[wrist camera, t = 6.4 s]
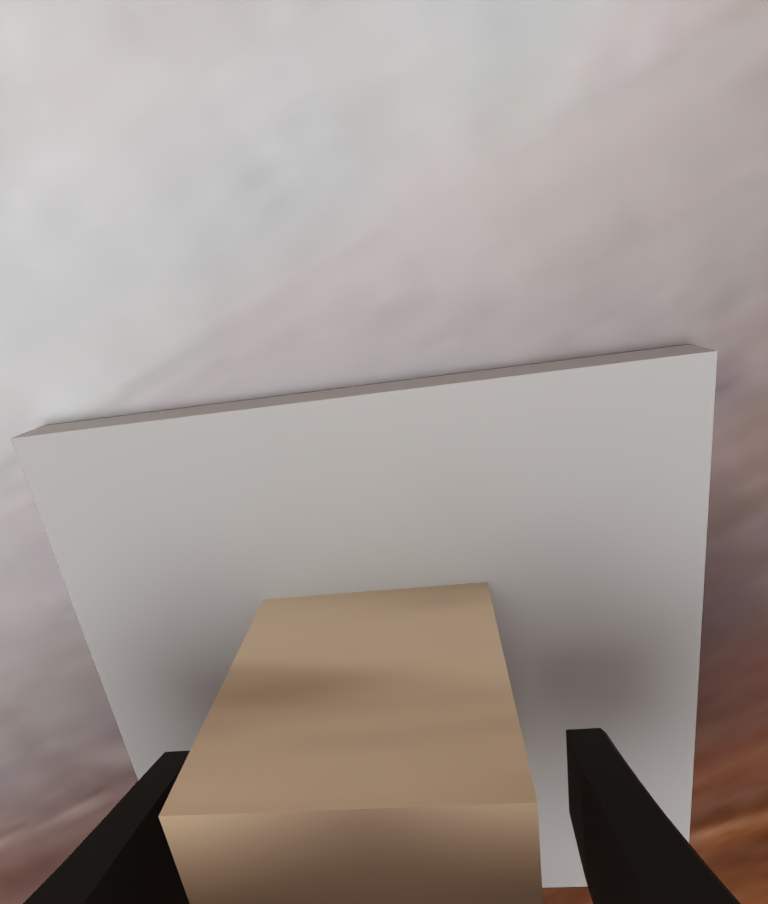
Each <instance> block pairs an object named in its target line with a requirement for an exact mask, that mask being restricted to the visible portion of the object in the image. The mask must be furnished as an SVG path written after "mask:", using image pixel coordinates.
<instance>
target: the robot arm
mask: <svg viewBox="0 0 768 904" xmlns="http://www.w3.org/2000/svg"><path fill="white" fill-rule="evenodd" d="M566 746H567V771H568V797H569V813H570V817H571V822H572V826H573V830H574V834H575V839H576V843H577V847H578V851H579V855H580V859H581V863H582V867H583V871H584V875H585V879H586V882H587V885H588V888H589V891H590V894H591V898H592V901H593V904H740V903H739V901H738V900H737V899H736V898H735V897H734V896H733V895H732V893H731V892H730V891H729V890H728V889H727V888H726V887H725V886H724V884H723V883H722V882H721V881H720V880H719V879H718V877H717V876H716V875H715V874H714V873H713V872H712V870H711V869H710V868H709V867H708V866H707V865H706V863H705V862H704V861H703V860H702V859H701V857H700V856H699V855H698V854H697V853H696V851H695V850H694V849H693V848H692V846H691V845H690V844H689V843H688V841H687V840H686V839H685V838H684V837H683V835H682V834H681V833H680V832H679V830H678V829H677V828H676V827H675V826H674V824H673V823H672V822H671V821H670V819H669V818H668V817H667V816H666V814H665V813H664V812H663V810H662V809H661V808H660V807H659V805H658V804H657V803H656V802H655V800H654V799H653V798H652V796H651V795H650V794H649V792H648V791H647V790H646V788H645V787H644V786H643V784H642V783H641V782H640V780H639V779H638V778H637V776H636V775H635V773H634V772H633V771H632V769H631V768H630V767H629V765H628V764H627V762H626V761H625V760H624V758H623V757H622V755H621V754H620V752H619V751H618V750H617V748H616V747H615V745H614V744H613V742H612V741H611V739H610V738H609V736H608V735H607V733H606V732H605V731H603V730H602V729H601V728H587V729H569V730H566ZM189 752H190V751H172V752H164V754H163V755H162V756H161V757H160V758H159V759H158V760H157V761H156V762H155V763H154V764H153V765H152V766H151V767H150V768H149V770H148V771H147V772H146V773H145V774H144V775H143V776H142V777H141V778H140V779H139V781H138V782H137V783H136V784H135V785H134V786H133V787H132V788H131V789H130V791H129V792H128V793H127V794H126V795H125V796H124V797H123V798H122V799H121V801H120V802H119V803H118V804H117V805H116V806H115V807H114V808H113V809H112V810H111V812H110V813H109V814H108V815H107V816H106V817H105V818H104V819H103V820H102V821H101V823H100V824H99V825H98V826H97V827H96V828H95V829H94V830H93V831H92V832H91V833H90V834H89V835H88V837H87V838H86V839H85V840H84V841H83V842H82V843H81V844H80V845H79V846H78V847H77V848H76V850H75V851H74V852H73V853H72V854H71V855H70V856H69V857H68V858H67V859H66V860H65V861H64V862H63V863H62V865H61V866H60V867H59V868H58V869H57V870H56V871H55V872H54V873H53V874H52V875H51V876H50V877H49V878H48V879H47V880H46V881H45V882H44V883H43V884H42V885H41V886H40V887H39V888H38V889H37V890H36V891H35V892H34V893H33V894H32V895H31V896H30V897H29V898H28V899H27V900H26V901H25V902H24V903H23V904H190V903H189V900H188V898H187V895H186V892H185V889H184V886H183V884H182V881H181V878H180V875H179V872H178V870H177V867H176V864H175V861H174V859H173V856H172V853H171V850H170V847H169V845H168V842H167V839H166V836H165V833H164V831H163V828H162V825H161V822H160V820H159V817H158V816H159V814H160V812H161V810H162V808H163V806H164V804H165V802H166V800H167V798H168V796H169V794H170V791H171V789H172V787H173V785H174V783H175V781H176V779H177V777H178V775H179V773H180V771H181V769H182V767H183V765H184V762H185V760H186V758H187V756H188V754H189Z"/></svg>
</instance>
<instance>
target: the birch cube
mask: <svg viewBox="0 0 768 904" xmlns="http://www.w3.org/2000/svg"><path fill="white" fill-rule="evenodd" d="M158 817H159V820H160V822H161V825H162V828H163V831H164V833H165V836H166V839H167V842H168V845H169V847H170V850H171V853H172V856H173V859H174V861H175V864H176V867H177V870H178V872H179V875H180V878H181V881H182V884H183V886H184V889H185V892H186V895H187V898H188V900H189V903H190V904H543V894H542V875H541V857H540V839H539V820H538V802H537V798H536V794H535V789H534V785H533V781H532V776H531V772H530V767H529V763H528V759H527V754H526V750H525V745H524V741H523V737H522V732H521V728H520V724H519V719H518V715H517V710H516V706H515V702H514V697H513V693H512V688H511V684H510V680H509V675H508V671H507V666H506V662H505V658H504V653H503V649H502V645H501V640H500V636H499V631H498V627H497V623H496V618H495V614H494V609H493V605H492V601H491V596H490V592H489V588H488V583H487V582H480V583H467V584H455V585H442V586H429V587H416V588H404V589H391V590H378V591H366V592H353V593H340V594H327V595H315V596H302V597H289V598H277V599H264V600H263V601H262V603H261V605H260V607H259V609H258V611H257V614H256V616H255V618H254V620H253V622H252V624H251V626H250V628H249V630H248V632H247V634H246V636H245V638H244V640H243V642H242V645H241V647H240V649H239V651H238V653H237V655H236V657H235V659H234V661H233V663H232V665H231V667H230V669H229V671H228V674H227V676H226V678H225V680H224V682H223V684H222V686H221V688H220V690H219V692H218V694H217V696H216V698H215V700H214V702H213V705H212V707H211V709H210V711H209V713H208V715H207V717H206V719H205V721H204V723H203V725H202V727H201V729H200V731H199V734H198V736H197V738H196V740H195V742H194V744H193V746H192V748H191V750H190V752H189V754H188V756H187V758H186V760H185V762H184V765H183V767H182V769H181V771H180V773H179V775H178V777H177V779H176V781H175V783H174V785H173V787H172V789H171V791H170V794H169V796H168V798H167V800H166V802H165V804H164V806H163V808H162V810H161V812H160V814H159V816H158Z"/></svg>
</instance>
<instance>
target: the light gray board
mask: <svg viewBox="0 0 768 904" xmlns="http://www.w3.org/2000/svg"><path fill="white" fill-rule="evenodd" d="M716 365H717V351H716V350H712V349H708V348H703V347H699V346H695V345H691V344H688V345H680V346H672V347H665V348H657V349H649V350H641V351H633V352H625V353H617V354H609V355H601V356H593V357H585V358H577V359H569V360H561V361H553V362H545V363H537V364H529V365H521V366H514V367H506V368H498V369H490V370H482V371H474V372H466V373H458V374H450V375H442V376H434V377H426V378H418V379H410V380H402V381H394V382H386V383H378V384H370V385H363V386H355V387H347V388H339V389H331V390H323V391H315V392H307V393H299V394H291V395H283V396H275V397H267V398H259V399H251V400H243V401H235V402H227V403H220V404H212V405H204V406H196V407H188V408H180V409H172V410H164V411H156V412H148V413H140V414H132V415H124V416H116V417H108V418H100V419H92V420H84V421H76V422H69V423H61V424H53V425H45V426H41V427H39V428H36V429H33V430H31V431H28V432H26V433H23V434H21V435H18V436H16V437H13V438H11V441H12V444H13V446H14V449H15V452H16V454H17V457H18V460H19V462H20V465H21V468H22V471H23V473H24V476H25V479H26V481H27V484H28V487H29V489H30V492H31V495H32V497H33V500H34V503H35V505H36V508H37V511H38V513H39V516H40V519H41V521H42V524H43V527H44V529H45V532H46V535H47V537H48V540H49V543H50V545H51V548H52V551H53V553H54V556H55V559H56V562H57V564H58V567H59V570H60V572H61V575H62V578H63V580H64V583H65V586H66V588H67V591H68V594H69V596H70V599H71V602H72V604H73V607H74V610H75V612H76V615H77V618H78V620H79V623H80V626H81V628H82V631H83V634H84V636H85V639H86V642H87V644H88V647H89V650H90V653H91V655H92V658H93V661H94V663H95V666H96V669H97V671H98V674H99V677H100V679H101V682H102V685H103V687H104V690H105V693H106V695H107V698H108V701H109V703H110V706H111V709H112V711H113V714H114V717H115V719H116V722H117V725H118V727H119V730H120V733H121V735H122V738H123V741H124V744H125V746H126V749H127V752H128V754H129V757H130V760H131V762H132V765H133V768H134V770H135V773H136V776H137V778H138V781H139V779H140V778H141V777H142V776H143V775H144V774H145V773H146V772H147V771H148V770H149V768H150V767H151V766H152V765H153V764H154V763H155V762H156V761H157V760H158V759H159V758H160V757H161V756H162V755H163V754H164V752H172V751H190V750H191V748H192V746H193V744H194V742H195V740H196V738H197V736H198V734H199V731H200V729H201V727H202V725H203V723H204V721H205V719H206V717H207V715H208V713H209V711H210V709H211V707H212V705H213V702H214V700H215V698H216V696H217V694H218V692H219V690H220V688H221V686H222V684H223V682H224V680H225V678H226V676H227V674H228V671H229V669H230V667H231V665H232V663H233V661H234V659H235V657H236V655H237V653H238V651H239V649H240V647H241V645H242V642H243V640H244V638H245V636H246V634H247V632H248V630H249V628H250V626H251V624H252V622H253V620H254V618H255V616H256V614H257V611H258V609H259V607H260V605H261V603H262V601H263V600H264V599H277V598H289V597H302V596H315V595H327V594H340V593H353V592H366V591H378V590H391V589H404V588H416V587H429V586H442V585H455V584H467V583H480V582H487V583H488V588H489V592H490V596H491V601H492V605H493V609H494V614H495V618H496V623H497V627H498V631H499V636H500V640H501V645H502V649H503V653H504V658H505V662H506V666H507V671H508V675H509V680H510V684H511V688H512V693H513V697H514V702H515V706H516V710H517V715H518V719H519V724H520V728H521V732H522V737H523V741H524V745H525V750H526V754H527V759H528V763H529V767H530V772H531V776H532V781H533V785H534V789H535V794H536V798H537V802H538V820H539V839H540V857H541V875H542V887H582V886H588V885H587V882H586V879H585V875H584V871H583V867H582V863H581V859H580V855H579V851H578V847H577V843H576V839H575V834H574V830H573V826H572V822H571V817H570V813H569V797H568V771H567V746H566V730H569V729H587V728H601V729H602V730H603V731H605V732H606V733H607V735H608V736H609V738H610V739H611V741H612V742H613V744H614V745H615V747H616V748H617V750H618V751H619V752H620V754H621V755H622V757H623V758H624V760H625V761H626V762H627V764H628V765H629V767H630V768H631V769H632V771H633V772H634V773H635V775H636V776H637V778H638V779H639V780H640V782H641V783H642V784H643V786H644V787H645V788H646V790H647V791H648V792H649V794H650V795H651V796H652V798H653V799H654V800H655V802H656V803H657V804H658V805H659V807H660V808H661V809H662V810H663V812H664V813H665V814H666V816H667V817H668V818H669V819H670V821H671V822H672V823H673V824H674V826H675V827H676V828H677V829H678V830H679V832H680V833H681V834H682V835H683V837H684V838H685V839H686V840H687V841H688V843H689V834H690V817H691V800H692V782H693V765H694V748H695V730H696V713H697V696H698V678H699V661H700V643H701V626H702V609H703V591H704V574H705V557H706V539H707V522H708V504H709V487H710V470H711V452H712V435H713V418H714V400H715V383H716Z"/></svg>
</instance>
